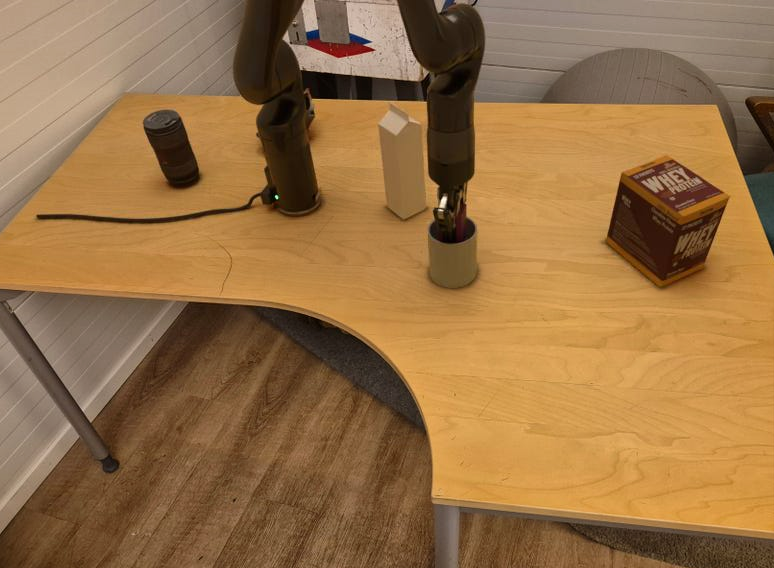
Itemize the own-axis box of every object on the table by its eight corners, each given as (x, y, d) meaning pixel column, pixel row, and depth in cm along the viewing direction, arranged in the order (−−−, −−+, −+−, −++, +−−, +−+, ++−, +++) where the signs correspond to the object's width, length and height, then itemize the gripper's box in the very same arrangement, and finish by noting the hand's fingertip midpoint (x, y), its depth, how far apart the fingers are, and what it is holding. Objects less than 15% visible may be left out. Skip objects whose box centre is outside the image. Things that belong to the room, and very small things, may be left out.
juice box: (438, 243, 112) (437, 201, 105) (443, 232, 114) (442, 190, 107) (461, 247, 111) (461, 204, 104) (466, 236, 113) (466, 193, 106)
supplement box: (660, 289, 112) (683, 216, 100) (604, 242, 121) (619, 170, 109) (704, 268, 115) (732, 196, 103) (647, 224, 124) (666, 153, 112)
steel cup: (423, 283, 116) (421, 240, 109) (437, 253, 122) (435, 210, 114) (469, 291, 114) (469, 248, 107) (481, 261, 119) (482, 218, 112)
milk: (403, 220, 129) (394, 119, 112) (386, 207, 132) (375, 107, 116) (427, 208, 131) (421, 108, 115) (409, 195, 135) (401, 96, 118)
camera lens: (159, 186, 142) (133, 125, 131) (180, 167, 147) (157, 106, 136) (188, 192, 140) (164, 130, 129) (209, 173, 145) (187, 111, 134)
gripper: (440, 122, 104) (443, 210, 117) (414, 169, 95) (420, 257, 108) (485, 127, 102) (482, 215, 115) (462, 176, 93) (462, 265, 106)
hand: (452, 235), depth 111 cm, fingers closed on juice box, 3 cm apart
